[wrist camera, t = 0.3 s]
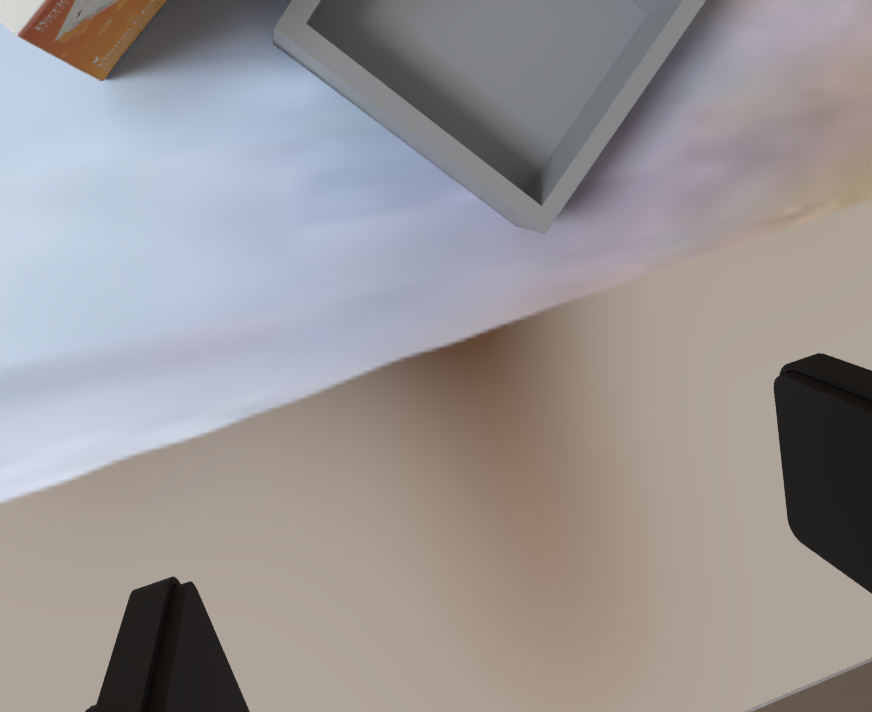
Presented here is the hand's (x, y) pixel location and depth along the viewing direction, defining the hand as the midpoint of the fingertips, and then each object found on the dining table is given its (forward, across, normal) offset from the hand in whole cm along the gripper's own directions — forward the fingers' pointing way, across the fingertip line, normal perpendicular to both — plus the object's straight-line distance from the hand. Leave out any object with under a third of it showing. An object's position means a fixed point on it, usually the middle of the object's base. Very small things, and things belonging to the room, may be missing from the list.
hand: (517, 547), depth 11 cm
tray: (+30, -11, -10) cm, 34 cm away
